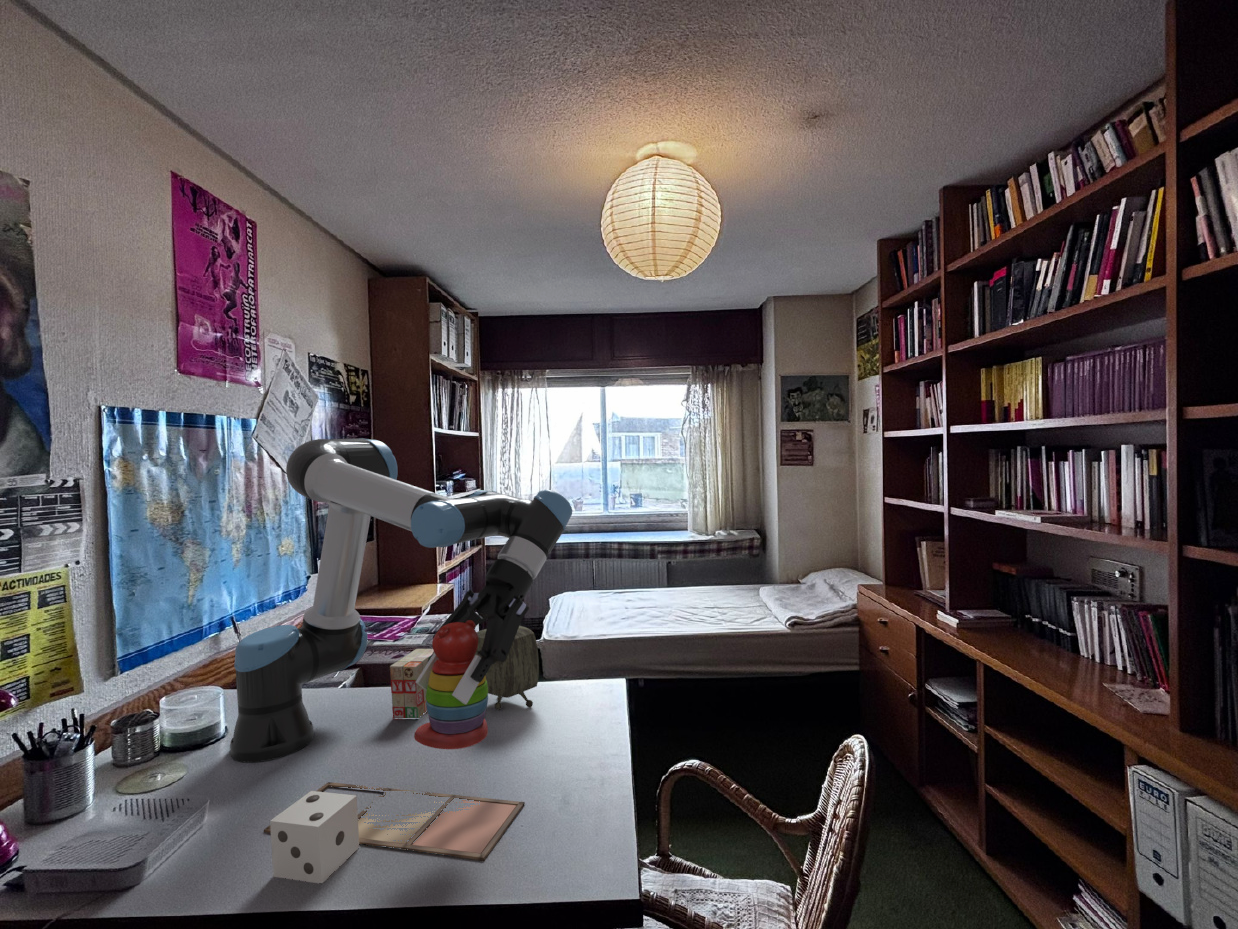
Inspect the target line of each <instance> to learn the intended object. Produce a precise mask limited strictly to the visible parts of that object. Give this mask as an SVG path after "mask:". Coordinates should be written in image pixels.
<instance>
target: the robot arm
mask: <svg viewBox="0 0 1238 929" xmlns="http://www.w3.org/2000/svg"><path fill="white" fill-rule="evenodd" d="M285 469H286V471H285V472H286V478H287V481H288V483H289V485H290V486H291V488H292V489H293V490H294V491H296V492H297V493H298V494H299V495H301V496H303V497H305V498H307V499H309V500H312V501H314V502H317V503H327V505H328V510H327V518H326V524H325V529H324V536H323V542H322V549H321V554H320V561H319V567H318V573H317V579H316V585H315V591H314V597H313V603H312V606H311V607H310V608H308V609H306V611H305V612H304V614H303V618H302V623H301V627H299V628H298V627H297V626H296V625H293V624H281V625H275V626H273V627H267V628H262V629H259V630H258V631H255V632H252V633H250V634H249V635H247V636H245V637H243V638H242V639H241V640H240V641H239V642H238V644H237V645H236V647H235V650H234V664H233V666H234V669H235V679H236V681H235V682H236V698H237V712H238V714H237V719H236V721H235V722H236V723H235V726H234V729H233V736H232V738H231V739H230V743H229V750H230V751H229V753H230V758H231V759H232V760H233V761H236V762H241V763H260V762H265V761H270V760H275V759H279V758H282V757H286V756H288V755H291V754H293V753H296V752H297V751H299V750H302V749H303V748H305V747H306V746H308V745H309V744H310V743H311V742H312V741H313V739H314V724H313V723H312V721H311V720H310V717H309V715H308V712H307V709H306V707H305V704H304V702H303V688H302V686H303V685H304V684H306V683H309V682H312V681H315V680H318V679H320V678H322V677H326V676H328V675H330V674H331V675H332V674H333V673H338V672H342V671H344V670H345V669H347V668H348V667H350V666H353V665H355V664H356V663H357V662H359V661H360V660H361V658H362V657H363V656H364V653H365V652H366V649H367V646H368V632H367V631H365V630H366V629H367V627H366V624H365V622H364V620H362V618H361V615H360V613H359V612H358V611H357V610H356V609H355V607H356V601H357V596H358V590H359V586H360V580H361V579H360V578H361V573H362V569H363V568H362V567H363V562H364V557H365V551H366V544H367V539H368V533H369V528H370V521H371V518H372V517H373V518H375V519H378V520H381V521H382V522H383V521H384V522H386V523H389V524H391V525H394V526H396V527H398V528H401V529H404V530H407V531H410V532H412V535H413V537H414V539H416V540H417V542H418V543H419V544H420V546H423V547H425V548H428V549H429V548H430V549H433V548H434V549H435V548H448V547H451V546H452V545H456V544H461V543H465V542H469V541H474V540H480V539H484V538H489V537H490V538H491V537H493V536H501V537H504V538H508V539H507V540H506V542H505V544H504V546H502V548H501V550H500V551H499V552H498V555H497V559H496V560H494V561H493V562H492V564H491V565H490V568H489V569H488V571H487V572H486V574H485V578H484V580H485V586H484V587H483V588H482V589H481V590H480V591H479V592H474V591H473V590H471V589H468V590H467V591H466V592H465V595H464V596H463V598H462V600H461V602H460V603H459V604H458V605H457V606H456V607H455V608H454V610H453V611H452V613H451V614H450V615H449V616H448V617H447V619H446V620H444V622H443V623H442V624H441V625H440V627H439V628H438V629H437V631H436V632H435V633H434V634H433V636H432V639H433V638H434V636H435V635H436V633H437V632H438V631H439V629H440V628H441V627H442V626H445V625H447V624H449V623H454V622H462V623H466V622H467V621H468V620H472V621H473V622H474V623H475V625H476V627H477V626H478V625H480V624H481V625H482V624H484V623H485V622H486V621H487V626H486V628H485V629H486V634H485V638H484V642H483V647H482V650H480V651H478V654H479V655H481V656H482V658H481V657H480V656H478V655H475V657H474V658H473V660H472V662H471V664H470V665H469V667H468V669H467V670H466V672H465V674H464V675H463V677H462V679H461V680H460V682H459V684H458V685H457V687H456V689H455V690H454V692H453V694H452V696H454V697H455V698H457V699H458V700H459V701H461V702H462V703H463V704H467V703H468V701H469V699H470V698H471V696H472V694H473V692H474V691H475V689H476V687H477V685H478V684H479V683H480V682H481V681H482V680H483V678H484V676H485V675H486V673H487V672H488V670H489V668H490V666H491V665H492V664H494V663H495V662H498V661H500V662H501V663H503V662H505V660H506V659H507V656H508V654H509V651H510V649H511V646H512V643H513V641H514V638H515V636H516V633H517V631H518V628H519V626H521V623H522V620H523V619H524V617H525V615H526V614H527V613H528V611H529V610H530V606H529V605H527V604H526V603H525V602H524V601H523V600H524V599H525V598H526V596H527V594H528V592H529V591H530V590H531V588H532V585H533V584H534V580H535V579H537V576H538V575H539V573H540V571H541V570H542V568H543V566H544V564H545V562H546V561H547V559H548V558H549V555H550V554H551V552H552V550H553V549H554V547H555V545H556V544H557V542H558V541H559V539H560V537H561V536H562V535H563V533H564V532H565V531H566V528H567V525H568V524H569V521H570V519H571V517H572V515H573V508H572V505H571V502H569V500H567V499H566V497H564V496H563V495H562V494H560V493H558V492H556V491H554V490H550V489H544V490H540V491H538V492H537V494H536V495H535V496H533V499H531V500H530V499H526V498H525V499H524V498H520V497H517V496H512V495H508V494H503V493H500V492H498V491H494V490H490V491H488V490H483V489H480V490H475V491H474V492H473V493H472V494H470V495H469V496H467V497H459V498H452V497H451V498H450V497H448V496H444V495H441V494H438V493H436V492H433V491H430V490H427V489H424V488H422V487H418V486H414V485H413V484H409V483H406V482H403V481H401V480H397V479H398V478H397V477H398V463H397V460H396V457H395V455H394V454H393V451H392V449H391V448H390V447H389V446H388V445H387V444H386V443H384V442H383V441H380V440H377V439H369V438H363V437H359V438H335V439H334V438H333V439H332V438H331V439H330V438H329V439H328V438H318V439H312V440H309V441H306V442H304V443H302V444H301V445H299V446H298V447H296V448H295V449H294V450H293V451H292V452H291V454H290V455H289V458H288V460H287V462H286V468H285ZM500 649H501V650H502V651H500ZM437 660H438V657H437V656H436V655H435V653H434V652H433V654H432V655H431V657H430V658H429V660H428V662H427V665H426V666H425V668H424V669H423V671H422V673H421V674H420V676H419V677H418V679H417V680H416V682H415V683H417V684H418V685H420V686H421V687H422V688H424V689H425V690H426V691H427V686H428V682H429V677H430V673H431V671H432V666H433V664H434V663H435V662H436V661H437Z"/></svg>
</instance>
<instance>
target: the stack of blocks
mask: <svg viewBox="0 0 1238 929" xmlns="http://www.w3.org/2000/svg"><path fill="white" fill-rule="evenodd" d="M433 652H434V650H433V648H416V649H414V650H413V651H410V653H408V654H407V655H405V656H404V657H402V658H401V659H399V660H397V661H396V662H394V663H392V664H391V665H390V666H389V673H390V690H391V704H392V706H391V707H392V719H393V718H420V716H422V715H423V713H425V712H426V711H427V706H426V690H425V689H424V688H422V687H421V686H420V685H418V684H417V683H415V682H416V680H417V679H418V677H419V676H420V674H421V673H422V671H423V669H424V668H425V666H426V665H427V662H428V660H429V658H430V657H431V655H432V654H433ZM423 716H424V715H423ZM423 716H422V717H423ZM420 719H421V718H420Z"/></svg>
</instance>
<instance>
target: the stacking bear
mask: <svg viewBox="0 0 1238 929" xmlns="http://www.w3.org/2000/svg"><path fill="white" fill-rule="evenodd" d="M441 626H442V625H441ZM441 626H440V627H441ZM440 627H439V628H440ZM476 627H477V626H476V625H475V623H474V622H473V621H472V620H468V621H467V622H466V623H462V622H454V623H449V624H447V625H445V626H442V627H441V628H440V629H439V628H438V630H439V631H438V630H437V631H438V632H437V631H436V632H437V633H436V632H435V633H436V635H435V636H434V635H433V636H434V638H433V637H432V642H431V645H432V649H433V650H434V653H435V655H436V656H437V657H438V660H437V661H436V662H435V663H434V664H433V666H432V671H431V673H430V677H429V682H428V686H427V691H426V706H427V714H428V720H429V721H428V722H427V723H424V724H422V725H420V726H418V727H417V728H416V730H415V731H414V737H413V738H414V740H415V741H416V742H417V743H419V744H421V745H423V746H425V747H428V748H432V749H437V750H438V749H439V750H460V749H465V748H466V749H467V748H470V747H472V746H475V745H477V744H479V743H481V742H482V741H483V740H485V739H486V737H488V733H489V729H488V728H489V727H488V723H487V720H486V719H485V716H486V713H487V708H488V703H489V702H488V701H489V694H488V685H487V681H486V676H484V678H483V680H482V681H481V682H480V683H479V684H478V685H477V687H476V689H475V691H474V692H473V694H472V696H471V698H470V699H469V701H468V703H467V704H463V703H462V702H461V701H459V700H458V699H457V698H455V697H454V696H452V694H453V692H454V690H455V689H456V687H457V685H458V684H459V682H460V680H461V679H462V677H463V675H464V674H465V672H466V670H467V669H468V667H469V665H470V664H471V662H472V660H473V658H474V655H475V653H476V651H477V647H478V635H477V633H476V632H477V631H476Z"/></svg>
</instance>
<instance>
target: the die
mask: <svg viewBox="0 0 1238 929" xmlns="http://www.w3.org/2000/svg"><path fill="white" fill-rule="evenodd" d="M358 814H359V813H358V798H357V795H354V794H346V793H336V792H335V793H334V792H327V791H323V792H318V791H317V790H310V791H309V792H308V793H306V794H305V795H303V796H302V797H301V798H299V799H298V800H296V801H295V802H294V803H292V804H291V805H290V806H288V807H287V808H286V809H284V810H283V811H282V812H280V813H279V814H277V815H276V816H274V817H273V818H272V819H271V820H269V822H270V823H269V825H270V828H271V833H270V841H271V842H270V843H271V844H270V845H271V857H272V858H271V859H272V876H273V878H280V879H285V878H286V880H292V879H293V881H299V880H300V882H305V881H306V882H307V883H311V884H312V883H314V884H319V883H322V884H323V883H324V882H326V880H327V879H329V878H330V877H331V876H332V875H333V874H334V873H335V872H336V871H337V870H338V869H339V868H340V867H341V866H342V865H344V864H345V863H346V861H347V860H346V859H348V858H349V857H350V856H351V855H352V854H353V853H354V852H355V851H356V850H357V849H358V848H359V847H360V845H359V830H358ZM359 849H360V848H359ZM359 849H358V850H359ZM358 850H357V851H358ZM357 851H356V852H357ZM356 852H355V853H356ZM355 853H354V854H355ZM354 854H353V855H354ZM353 855H352V856H353ZM352 856H351V857H352ZM351 857H350V858H351ZM350 858H349V859H350ZM339 866H340V867H339ZM334 871H335V872H334ZM333 872H334V873H333ZM332 873H333V874H332ZM331 874H332V875H331ZM330 875H331V876H330ZM329 876H330V877H329Z"/></svg>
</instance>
